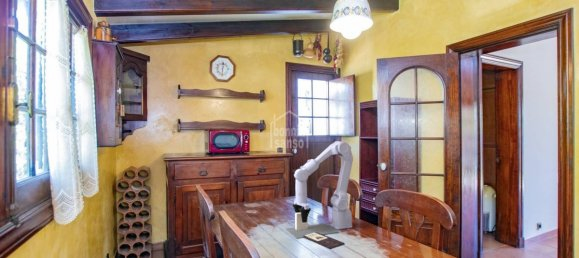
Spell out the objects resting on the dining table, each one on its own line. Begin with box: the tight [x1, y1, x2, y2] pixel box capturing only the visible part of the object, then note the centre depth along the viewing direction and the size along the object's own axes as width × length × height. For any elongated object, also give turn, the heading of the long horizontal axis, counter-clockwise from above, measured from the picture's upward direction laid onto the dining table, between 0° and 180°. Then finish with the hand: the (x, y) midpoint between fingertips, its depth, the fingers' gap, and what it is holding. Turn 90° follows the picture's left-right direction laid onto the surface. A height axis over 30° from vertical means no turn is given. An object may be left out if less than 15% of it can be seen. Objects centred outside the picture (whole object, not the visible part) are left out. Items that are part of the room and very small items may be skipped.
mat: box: [286, 223, 339, 240], centre depth 150 cm, size 22×14×1 cm, turn 110°
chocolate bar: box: [303, 232, 346, 250], centre depth 137 cm, size 9×1×18 cm
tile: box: [294, 212, 309, 230], centre depth 152 cm, size 6×2×8 cm, turn 110°
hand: (301, 220), depth 152 cm, fingers open, 7 cm apart
